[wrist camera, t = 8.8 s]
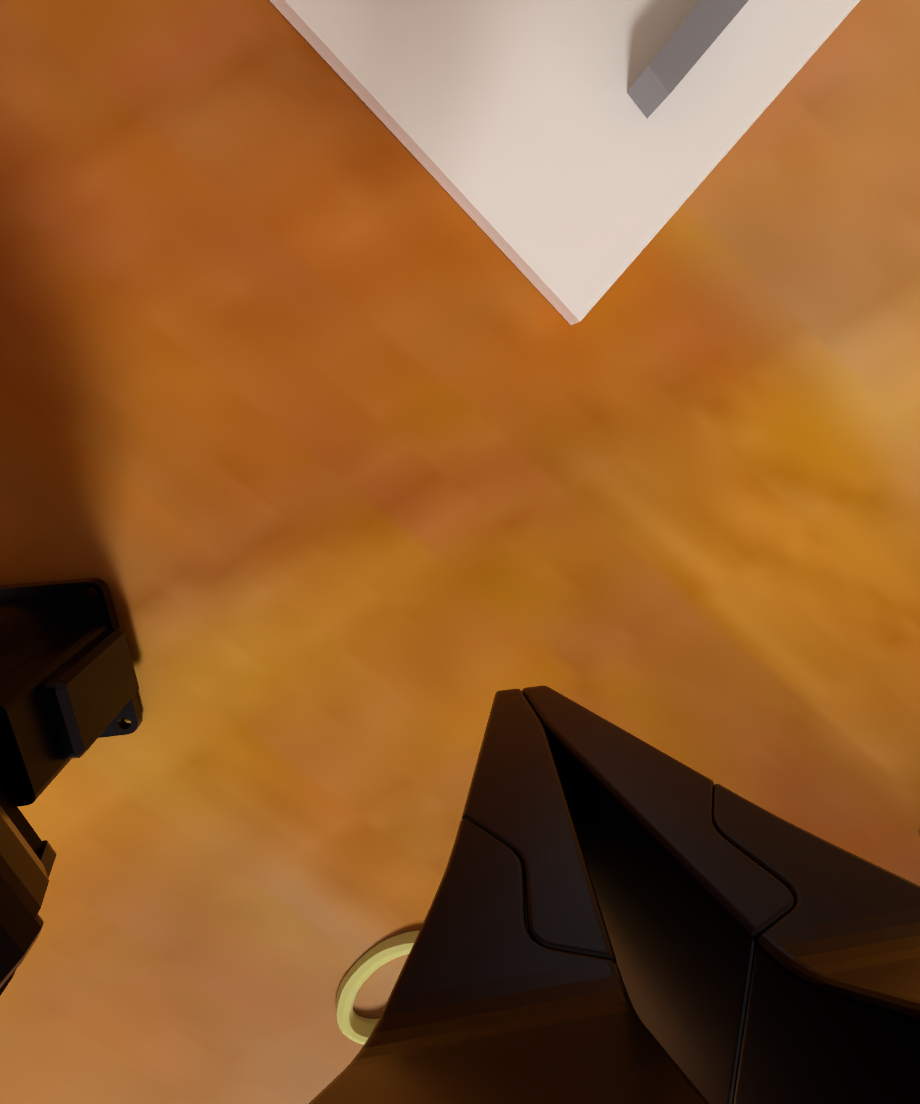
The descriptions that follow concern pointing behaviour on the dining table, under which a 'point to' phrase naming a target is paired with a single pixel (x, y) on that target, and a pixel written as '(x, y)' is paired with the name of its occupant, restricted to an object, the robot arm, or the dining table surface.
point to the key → (355, 977)
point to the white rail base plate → (567, 109)
